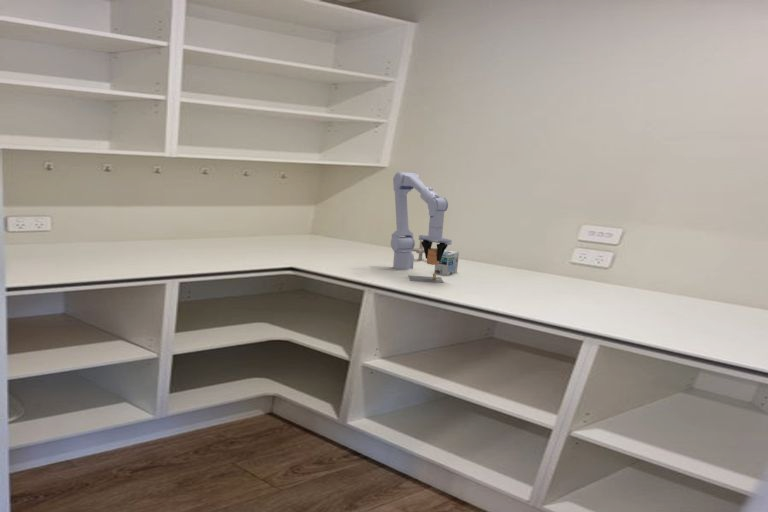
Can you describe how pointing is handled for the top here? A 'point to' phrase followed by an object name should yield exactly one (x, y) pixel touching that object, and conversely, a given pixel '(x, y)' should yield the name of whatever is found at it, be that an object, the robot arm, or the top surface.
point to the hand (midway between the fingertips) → (433, 259)
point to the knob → (432, 256)
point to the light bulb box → (447, 263)
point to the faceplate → (426, 279)
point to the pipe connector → (419, 250)
